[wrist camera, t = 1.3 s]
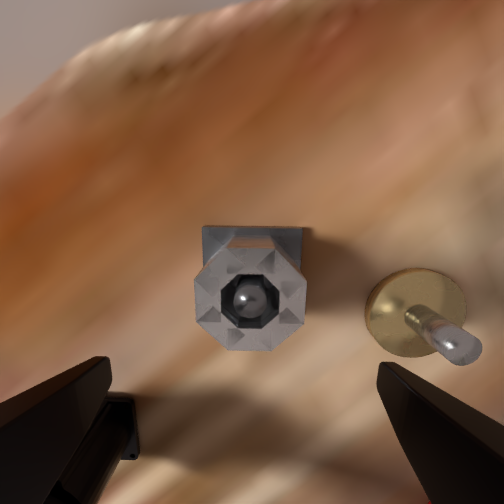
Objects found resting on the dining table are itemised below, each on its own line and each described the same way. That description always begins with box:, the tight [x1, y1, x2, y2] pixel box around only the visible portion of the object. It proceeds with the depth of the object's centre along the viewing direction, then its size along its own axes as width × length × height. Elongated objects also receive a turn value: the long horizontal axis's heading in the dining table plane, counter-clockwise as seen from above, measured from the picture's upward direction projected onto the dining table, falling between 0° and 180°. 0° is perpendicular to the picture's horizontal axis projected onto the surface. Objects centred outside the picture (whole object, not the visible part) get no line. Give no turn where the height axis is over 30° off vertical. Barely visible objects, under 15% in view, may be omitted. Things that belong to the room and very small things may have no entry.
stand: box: [202, 226, 303, 318], centre depth 15 cm, size 7×7×6 cm
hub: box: [365, 268, 482, 366], centre depth 16 cm, size 7×7×5 cm
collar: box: [194, 235, 307, 351], centre depth 15 cm, size 6×6×4 cm
